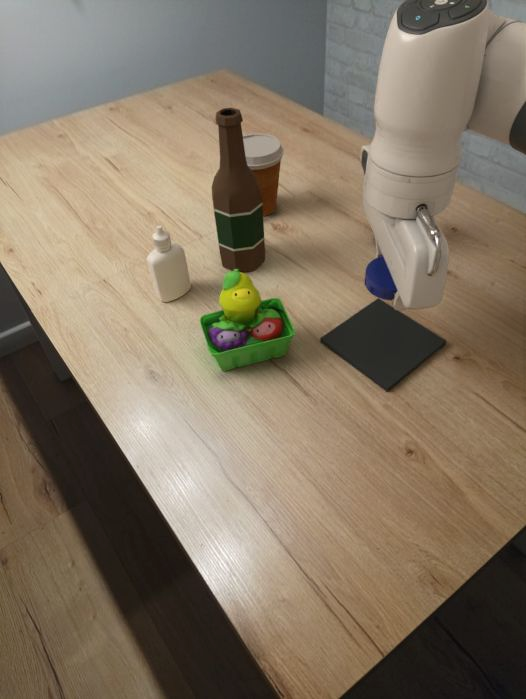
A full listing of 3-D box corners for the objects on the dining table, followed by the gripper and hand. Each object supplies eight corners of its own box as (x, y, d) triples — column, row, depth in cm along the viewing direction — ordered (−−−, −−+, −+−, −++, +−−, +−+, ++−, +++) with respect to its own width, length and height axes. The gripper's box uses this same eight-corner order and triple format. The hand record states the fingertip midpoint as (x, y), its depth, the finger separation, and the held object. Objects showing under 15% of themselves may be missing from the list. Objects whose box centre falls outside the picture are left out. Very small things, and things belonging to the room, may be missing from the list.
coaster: (377, 301, 76) (378, 297, 76) (445, 344, 70) (446, 340, 69) (319, 342, 71) (320, 338, 71) (387, 392, 65) (388, 388, 64)
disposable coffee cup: (255, 228, 91) (250, 164, 82) (223, 207, 96) (215, 144, 87) (295, 207, 95) (295, 144, 86) (262, 188, 100) (259, 126, 91)
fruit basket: (215, 381, 68) (203, 319, 59) (201, 335, 73) (189, 273, 65) (297, 360, 69) (297, 297, 61) (277, 317, 75) (275, 254, 67)
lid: (354, 286, 63) (355, 276, 61) (381, 259, 66) (383, 249, 64) (400, 308, 60) (402, 297, 59) (426, 279, 63) (428, 268, 62)
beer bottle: (213, 271, 83) (190, 123, 66) (226, 243, 88) (209, 98, 71) (260, 277, 82) (249, 126, 64) (271, 247, 87) (264, 100, 69)
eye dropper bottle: (155, 286, 81) (137, 221, 73) (190, 280, 82) (177, 215, 73) (156, 304, 78) (138, 239, 70) (193, 298, 79) (180, 232, 70)
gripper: (477, 237, 46) (444, 343, 56) (411, 135, 60) (394, 235, 70) (408, 244, 46) (387, 349, 56) (357, 140, 60) (348, 239, 70)
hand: (391, 285), depth 63 cm, fingers closed on lid, 6 cm apart
